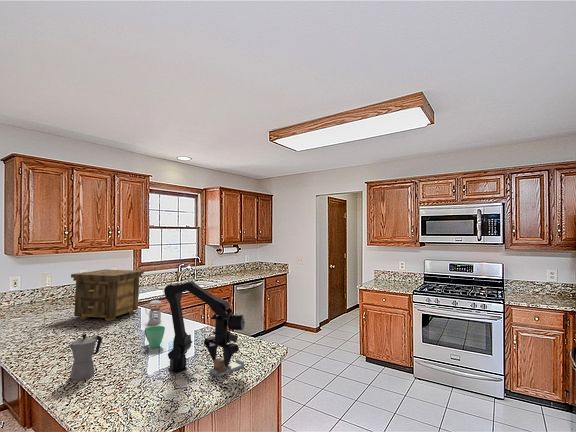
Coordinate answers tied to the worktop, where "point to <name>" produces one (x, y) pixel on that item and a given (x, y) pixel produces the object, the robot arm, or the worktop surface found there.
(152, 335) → the green cup
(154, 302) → the french press
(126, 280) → the wooden drawer cabinet
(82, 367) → the coffeepot
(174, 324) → the robot arm
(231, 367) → the bracket
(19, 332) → the worktop surface
